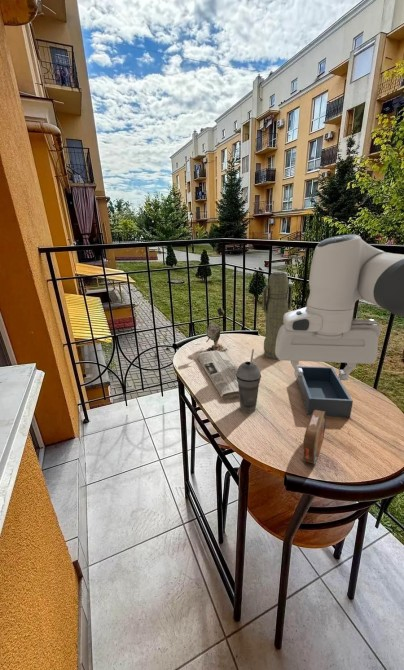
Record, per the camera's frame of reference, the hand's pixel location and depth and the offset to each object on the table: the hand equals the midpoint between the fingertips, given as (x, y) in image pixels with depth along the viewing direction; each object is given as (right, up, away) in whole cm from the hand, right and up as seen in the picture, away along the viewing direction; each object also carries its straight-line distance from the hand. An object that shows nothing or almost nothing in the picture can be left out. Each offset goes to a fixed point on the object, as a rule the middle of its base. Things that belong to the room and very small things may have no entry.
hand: (320, 377), depth 62 cm
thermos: (+5, +1, +58) cm, 58 cm away
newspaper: (-18, -5, +44) cm, 48 cm away
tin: (+1, -19, +7) cm, 20 cm away
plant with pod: (-20, +3, +67) cm, 70 cm away
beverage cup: (-12, -13, +23) cm, 29 cm away
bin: (+12, -10, +28) cm, 32 cm away
